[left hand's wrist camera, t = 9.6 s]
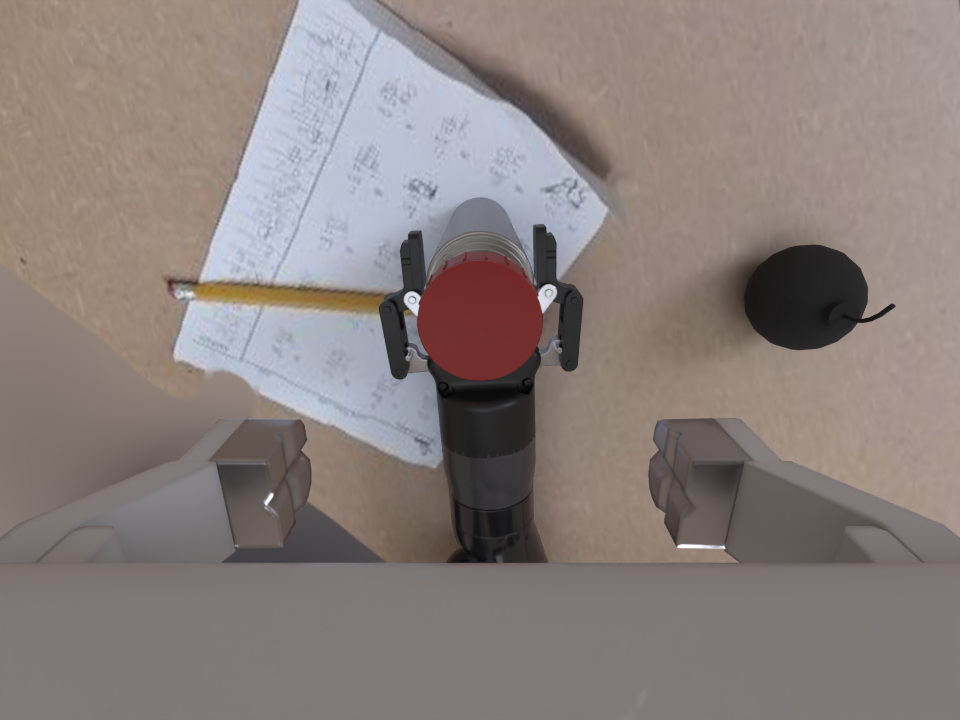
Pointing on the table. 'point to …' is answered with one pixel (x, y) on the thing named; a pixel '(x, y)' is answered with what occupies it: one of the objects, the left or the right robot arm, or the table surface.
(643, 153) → the table surface
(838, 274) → the bomb
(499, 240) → the bottle
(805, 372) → the table surface
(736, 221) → the table surface
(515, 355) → the cap
